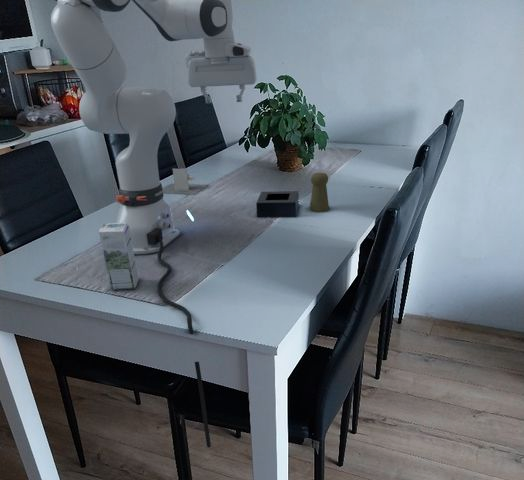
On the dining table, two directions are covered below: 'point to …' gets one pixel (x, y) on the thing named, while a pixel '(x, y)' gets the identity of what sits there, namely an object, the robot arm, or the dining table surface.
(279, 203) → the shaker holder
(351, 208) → the dining table surface
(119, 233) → the syrup box
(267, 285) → the dining table surface
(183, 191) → the architectural model
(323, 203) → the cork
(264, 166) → the dining table surface
